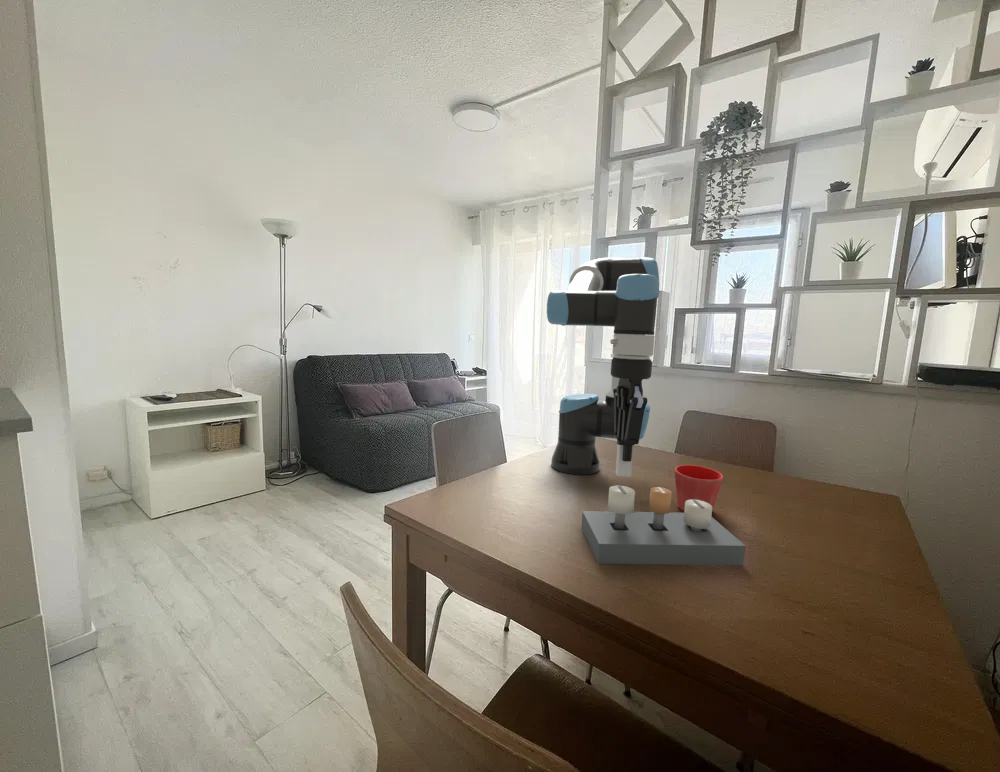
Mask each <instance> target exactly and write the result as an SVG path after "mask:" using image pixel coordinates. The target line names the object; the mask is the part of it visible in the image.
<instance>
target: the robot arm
mask: <svg viewBox="0 0 1000 772" xmlns="http://www.w3.org/2000/svg"><path fill="white" fill-rule="evenodd" d="M659 272H660V271H659V266H658V262H657V260H656V259H655V258H653V257H642V256H637V257H636V256H635V257H632V256H631V257H602V258H597V259H593V260H589V261H588V262H585V263H583V264H581V265H579V266H578V267H576V269H575V270H574V271H573V272H572V273H571V275H570V278H569V284H568V286H567V287H566V289H565V290H563V289H560V290H552V291H550V292H549V293H548V296H547V300H546V301H547V302H546V318H547V322H548V323H549V324H551V325H559V326H563V327H565V326H579V327H580V326H582V327H583V326H584V327H585V326H586V327H587V326H591V327H593V326H594V327H614V328H613V336H612V337H613V338H612V339H610V340H609V341H610V344H611V345H612V352H611V353H612V355H613V358H612V359H611V360H610V361H611V364H610V376H611V388H610V390H609V391H608V392H607V393H606V394H605V399H600V398H599V395H598V394H596V393H578V394H576V393H575V394H570V395H565V396H564V397H562V398H561V400H560V404H559V410H558V414H559V415H558V416H559V417H558V418H559V419H558V433H557V434H558V437H557V438H558V439H557V444H556V446H555V448H554V452H553V454H552V457H551V467H552V469H554V470H556V471H559V472H560V473H563V474H564V473H565V474H568V475H569V474H571V475H577V476H580V475H593V474H596V473H597V472H599V471H600V465H601V464H600V458H599V454H598V450H597V447H596V438H604V439H614V440H616V443H617V444H616V445H617V446H616V459H615V461H616V462H615V475H616V476H617V477H632V471H633V457H634V446H635V445H639V443H640V441H641V440H642V439H643V438H644V436H645V435H646V431H647V427H648V423H649V418H650V410H651V404H650V403H648V398H647V397H646V395H644V394H643V393H644V389H643V385H642V384H643V383H642V382H643V380H649V379H650V378H651V377H652V370H653V369H652V368H653V360H652V359H650V358H651V357H652V356H654V347H655V326H656V317H657V306H658V298H659V297H660V273H659Z"/></svg>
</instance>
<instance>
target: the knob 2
mask: <svg viewBox="0 0 1000 772" xmlns="http://www.w3.org/2000/svg"><path fill="white" fill-rule="evenodd" d="M712 512H713V510H712V506H711V505H710V504H709V503H707V502H704V501H700V500H687V501H685V510H684V511H683V513H684V523H685V524H687V525H689V526H691V531H701V530H702V529H707V528H709V527H710V524H711V517H712Z"/></svg>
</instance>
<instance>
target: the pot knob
mask: <svg viewBox="0 0 1000 772" xmlns="http://www.w3.org/2000/svg"><path fill="white" fill-rule="evenodd" d="M649 492H650V493H649V503H648V506H649V507H648V509H649V510H650V512H654V517H653V527H654V528H655V529H663V523H664V514H668V513H669V512H671V503H672V493H673V492H672V491H671V490H670V489H668V488H665V487H660V486H656V487H655V486H654V487H651V488H650V491H649Z"/></svg>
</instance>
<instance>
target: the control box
mask: <svg viewBox="0 0 1000 772" xmlns="http://www.w3.org/2000/svg"><path fill="white" fill-rule="evenodd" d="M581 517H582V518H581V530H582V533H583V534H584V536H585V539H586V541H587V543H588V546H589V547H590V550H591V552H592V554H593V556H594V558H595V560H596V561H595V562H596V563H597V564H598V565H599V564H606V565H607V564H608V565H609V564H610V565H615V564H617V565H677V566H680V565H682V566H683V565H691V566H692V565H693V566H695V565H696V566H704V565H705V566H744V561H745V554H746V553H745V552H746V551H745V550H746V545H745V544H744V543H743V542H742V541H741V540H739V539H738V537H736V536H735V535H733V534H732V533H731V532H730V530H728V529H726V528H725V527H724V526H723V525H722V524H721V523H719V522H718V520H716V519H715V518H714V517H712V516H711V524H710V527H709V528H707V529H702V530H701V531H691V526H689V525H687V524H685V523H684V512H673V511H672V512H671V511H670V512H669V513H668V514H664V523H663V529H655V528H654V527H653V517H654V512H653V511H633V513H631V514H625V526H624V528H623V529H618V528H616V527H614V522H615V513H614V512H612V511H610V510H609V511H608V510H607V511H599V510H598V511H597V510H595V511H591V510H582V515H581Z"/></svg>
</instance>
